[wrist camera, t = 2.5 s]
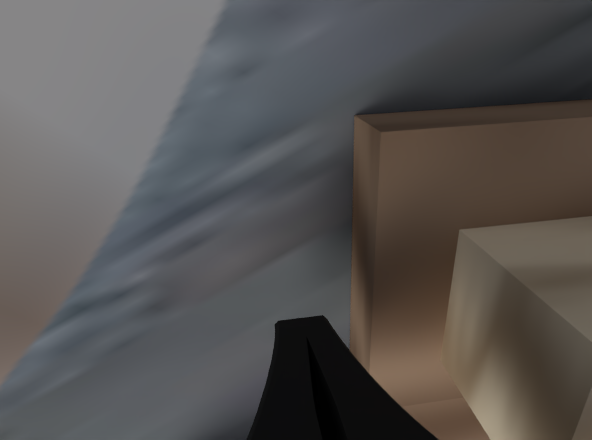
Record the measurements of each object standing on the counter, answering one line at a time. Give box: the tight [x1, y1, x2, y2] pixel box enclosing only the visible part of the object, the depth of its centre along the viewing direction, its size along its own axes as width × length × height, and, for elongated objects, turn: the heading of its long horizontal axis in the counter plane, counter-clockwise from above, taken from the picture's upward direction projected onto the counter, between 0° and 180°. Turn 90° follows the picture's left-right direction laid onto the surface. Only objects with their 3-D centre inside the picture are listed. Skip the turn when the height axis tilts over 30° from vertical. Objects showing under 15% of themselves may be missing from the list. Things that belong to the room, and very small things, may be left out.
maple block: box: [440, 216, 592, 440], centre depth 10 cm, size 5×5×5 cm
